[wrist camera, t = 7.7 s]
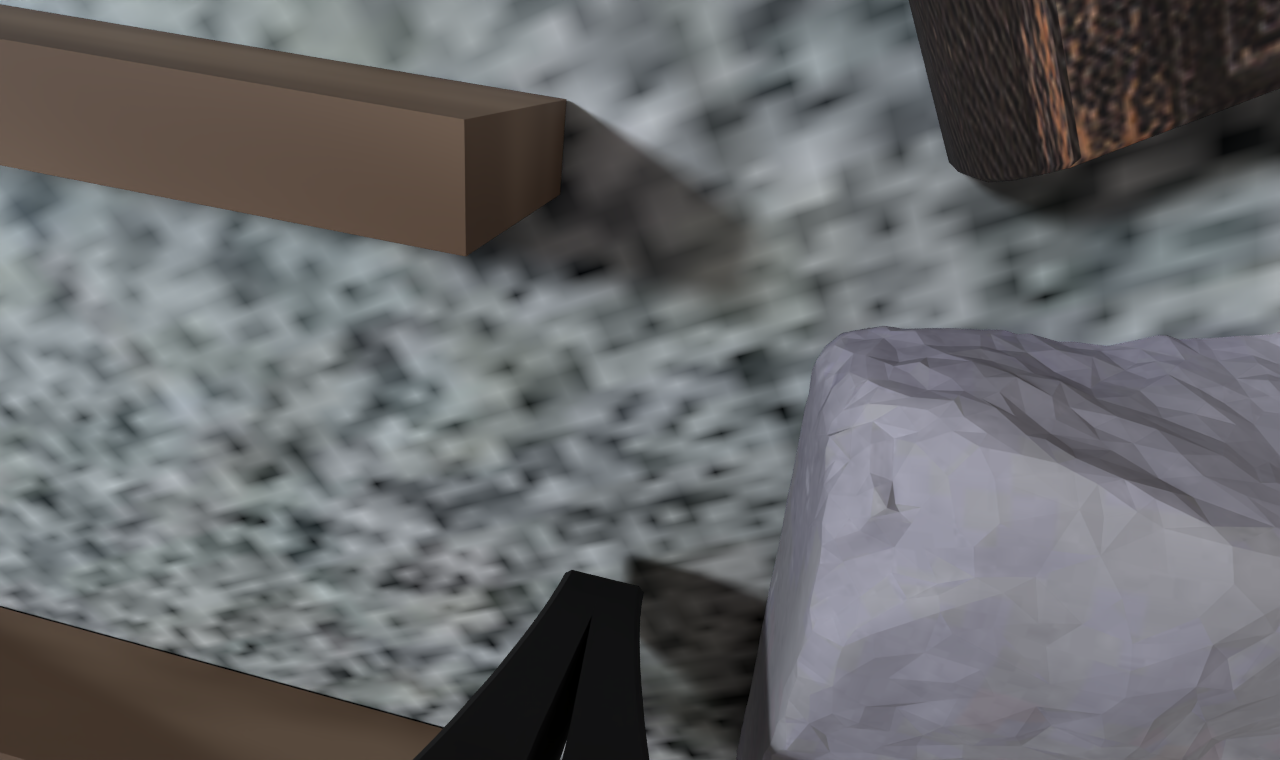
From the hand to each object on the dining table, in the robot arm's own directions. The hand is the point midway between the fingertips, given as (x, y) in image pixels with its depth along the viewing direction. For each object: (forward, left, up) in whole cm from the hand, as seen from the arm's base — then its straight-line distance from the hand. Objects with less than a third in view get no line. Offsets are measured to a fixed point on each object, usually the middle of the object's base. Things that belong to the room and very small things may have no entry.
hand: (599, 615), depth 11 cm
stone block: (+1, -8, -2) cm, 8 cm away
